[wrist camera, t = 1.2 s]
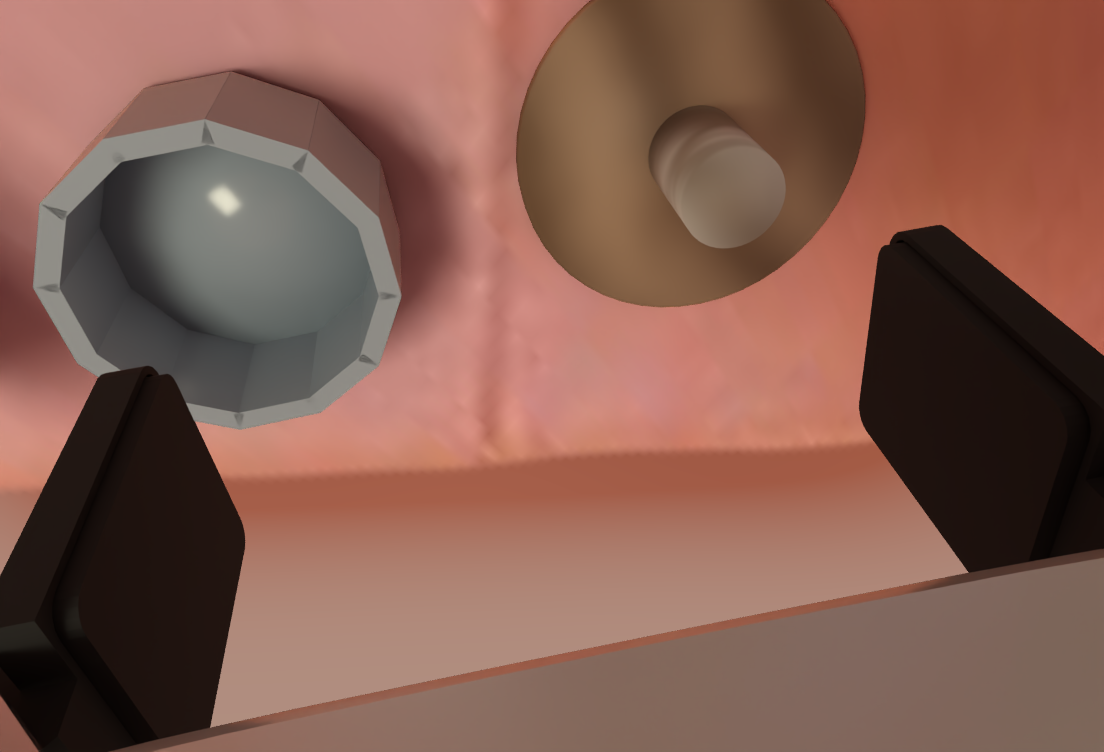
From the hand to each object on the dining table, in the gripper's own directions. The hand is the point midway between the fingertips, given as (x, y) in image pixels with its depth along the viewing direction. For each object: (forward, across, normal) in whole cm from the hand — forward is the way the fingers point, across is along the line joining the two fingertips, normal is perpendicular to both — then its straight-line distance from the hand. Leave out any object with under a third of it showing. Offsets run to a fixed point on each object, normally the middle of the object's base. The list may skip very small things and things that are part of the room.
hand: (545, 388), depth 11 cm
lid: (+25, -9, +7) cm, 28 cm away
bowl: (+25, +10, +7) cm, 28 cm away
